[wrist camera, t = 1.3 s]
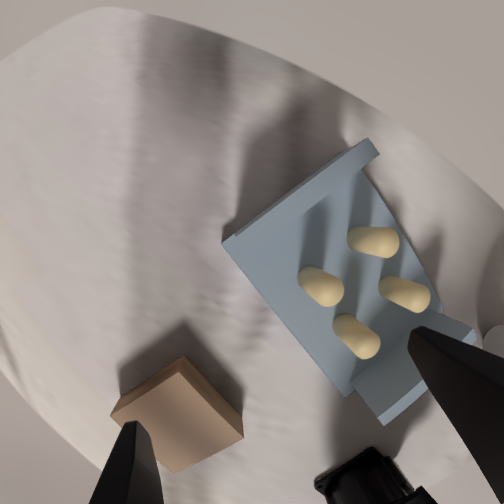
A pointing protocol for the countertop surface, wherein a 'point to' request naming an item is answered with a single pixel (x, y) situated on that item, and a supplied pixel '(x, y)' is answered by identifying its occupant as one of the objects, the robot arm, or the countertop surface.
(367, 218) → the peg stand
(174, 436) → the walnut block
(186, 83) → the countertop surface
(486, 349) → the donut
